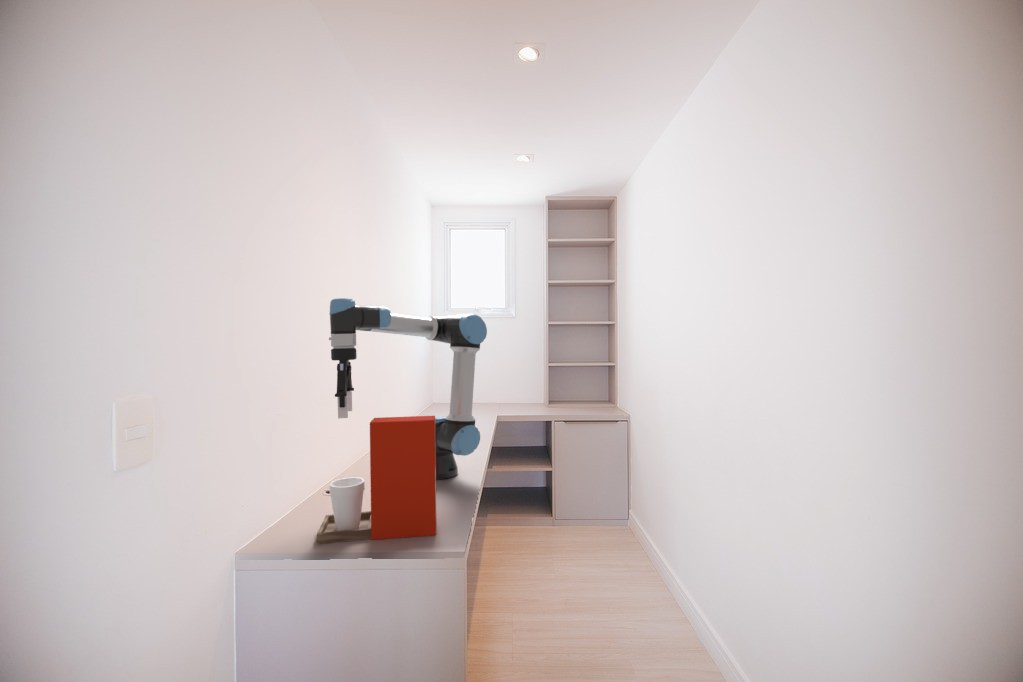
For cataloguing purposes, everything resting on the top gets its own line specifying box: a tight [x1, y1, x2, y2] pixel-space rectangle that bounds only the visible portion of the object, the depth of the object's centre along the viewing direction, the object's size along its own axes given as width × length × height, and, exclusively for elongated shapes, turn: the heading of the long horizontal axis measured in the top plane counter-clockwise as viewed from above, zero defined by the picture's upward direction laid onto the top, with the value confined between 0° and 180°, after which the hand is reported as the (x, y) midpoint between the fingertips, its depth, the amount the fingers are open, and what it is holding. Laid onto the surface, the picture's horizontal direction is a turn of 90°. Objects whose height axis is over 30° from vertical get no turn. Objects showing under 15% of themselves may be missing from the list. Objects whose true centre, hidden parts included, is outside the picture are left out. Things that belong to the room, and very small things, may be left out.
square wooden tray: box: [315, 510, 371, 545], centre depth 128 cm, size 14×14×2 cm
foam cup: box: [329, 476, 366, 531], centre depth 128 cm, size 10×9×13 cm
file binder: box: [369, 415, 438, 541], centre depth 126 cm, size 8×17×32 cm, turn 98°
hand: (345, 414), depth 142 cm, fingers open, 13 cm apart
